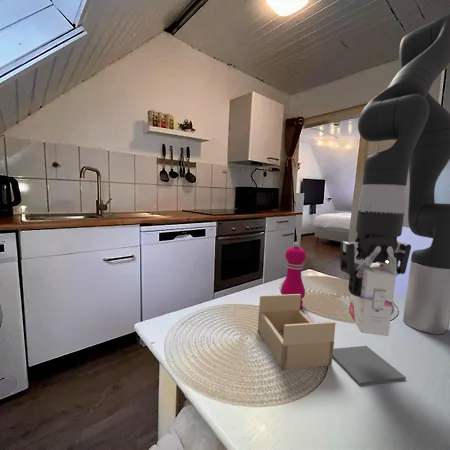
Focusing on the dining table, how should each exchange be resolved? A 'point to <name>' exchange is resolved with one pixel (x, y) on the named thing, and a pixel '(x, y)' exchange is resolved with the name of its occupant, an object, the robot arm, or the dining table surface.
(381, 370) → the mat
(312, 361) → the carton
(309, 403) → the dining table surface
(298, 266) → the pepper mill
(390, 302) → the ink cartridge box
